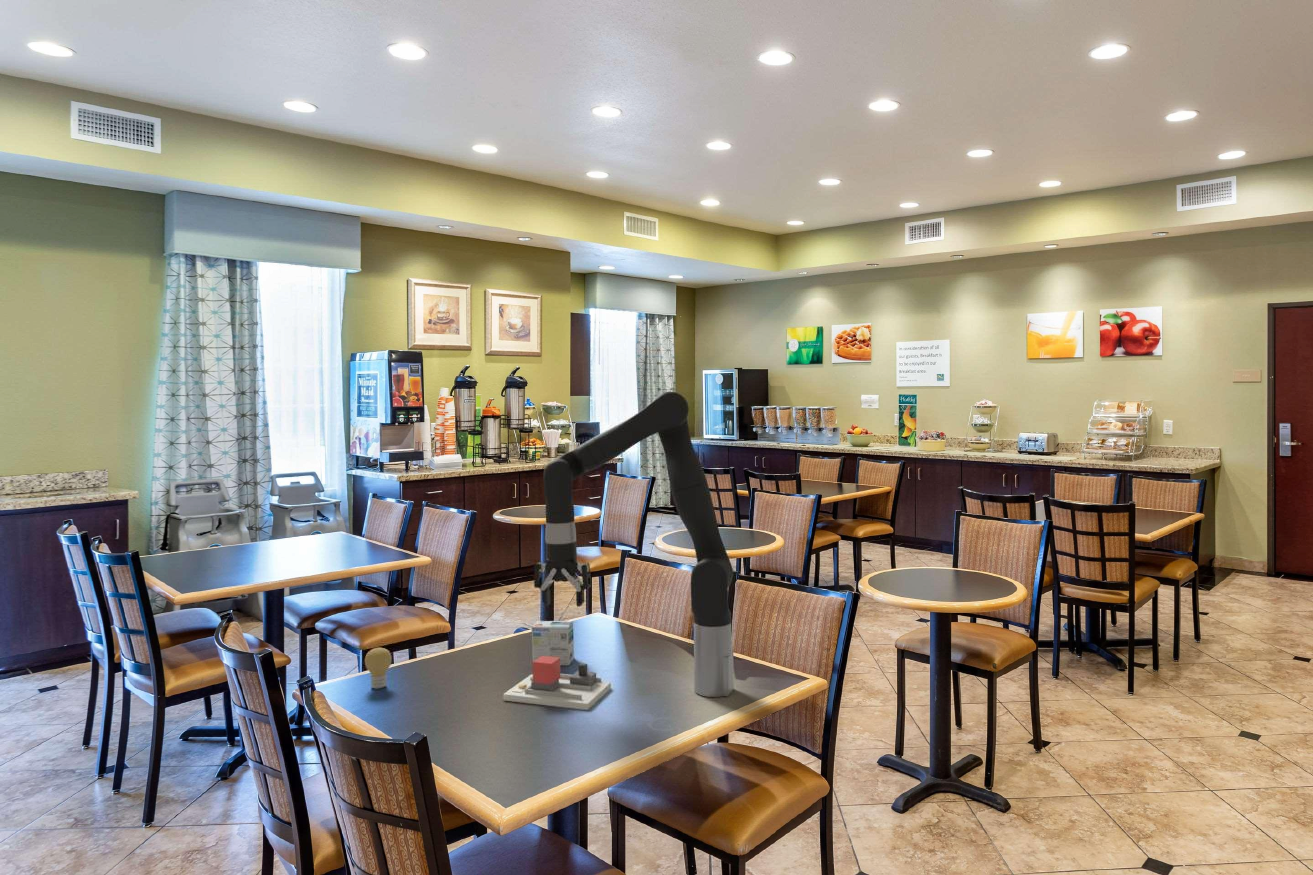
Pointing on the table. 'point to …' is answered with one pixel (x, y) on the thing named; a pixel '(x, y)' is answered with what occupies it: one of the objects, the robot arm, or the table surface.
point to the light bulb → (378, 666)
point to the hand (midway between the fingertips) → (563, 605)
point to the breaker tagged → (545, 686)
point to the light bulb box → (553, 640)
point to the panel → (563, 691)
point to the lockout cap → (546, 669)
